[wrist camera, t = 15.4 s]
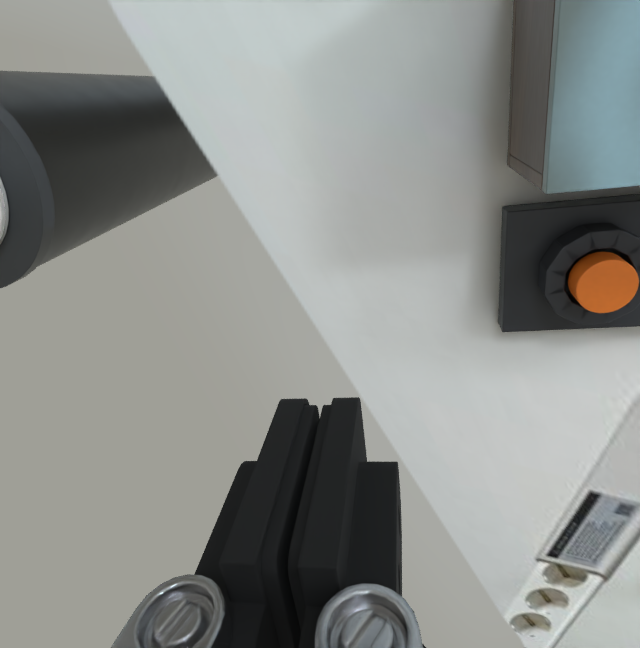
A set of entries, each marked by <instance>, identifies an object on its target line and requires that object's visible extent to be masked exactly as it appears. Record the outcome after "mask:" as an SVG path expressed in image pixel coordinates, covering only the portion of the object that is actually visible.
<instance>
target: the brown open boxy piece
mask: <svg viewBox="0 0 640 648" xmlns="http://www.w3.org/2000/svg"><path fill="white" fill-rule="evenodd" d="M554 13H555V0H514V2H513V27H512V53H511V78H510V104H509V130H508V155H507V165H508V166H509V167H511V168H512V169H513V170H515V171H516V172H517V173H519V174H520V175H521V176H523V177H524V178H526V179H527V180H528V181H530V182H531V183H532V184H534V185H535V186H536V187H538V188H539V189H540V190H542V184H543V170H544V155H545V141H546V127H547V113H548V98H549V84H550V70H551V56H552V42H553V27H554Z"/></svg>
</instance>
